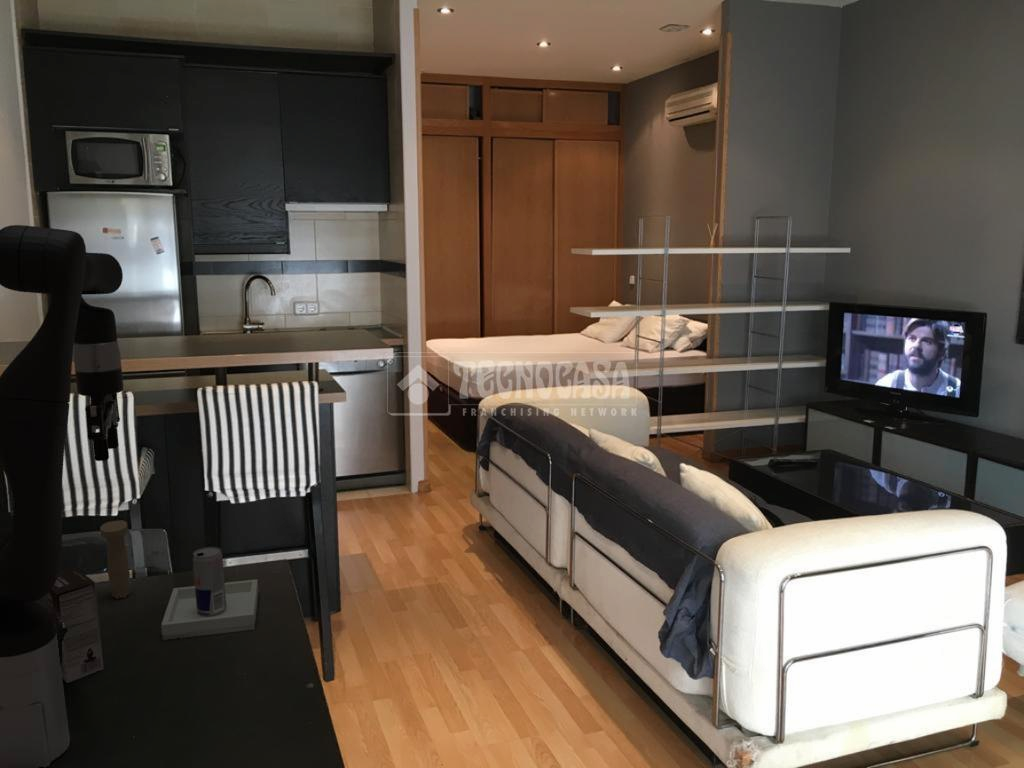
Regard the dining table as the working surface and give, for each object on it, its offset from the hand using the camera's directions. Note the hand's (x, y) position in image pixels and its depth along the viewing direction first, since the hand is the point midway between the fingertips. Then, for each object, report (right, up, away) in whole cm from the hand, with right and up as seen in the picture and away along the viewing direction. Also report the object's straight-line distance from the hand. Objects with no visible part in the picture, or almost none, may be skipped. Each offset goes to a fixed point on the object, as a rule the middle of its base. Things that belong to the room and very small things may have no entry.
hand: (107, 454), depth 153 cm
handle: (-5, -31, +17) cm, 35 cm away
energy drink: (+16, -31, +8) cm, 36 cm away
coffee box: (-1, -36, -10) cm, 37 cm away
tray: (+16, -32, +8) cm, 37 cm away
